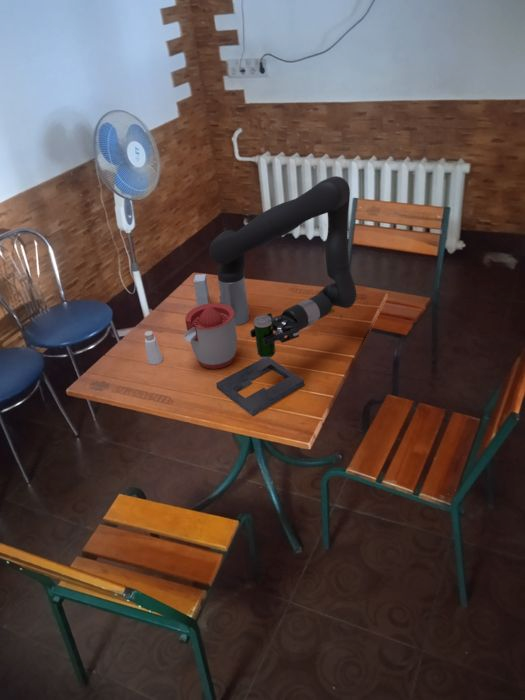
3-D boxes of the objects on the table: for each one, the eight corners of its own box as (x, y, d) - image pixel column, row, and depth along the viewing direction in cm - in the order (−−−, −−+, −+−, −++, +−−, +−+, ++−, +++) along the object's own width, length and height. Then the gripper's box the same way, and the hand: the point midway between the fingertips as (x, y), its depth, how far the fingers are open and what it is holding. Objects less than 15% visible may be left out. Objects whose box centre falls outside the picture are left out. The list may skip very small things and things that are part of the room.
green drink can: (260, 360, 164) (255, 326, 157) (256, 350, 168) (251, 316, 161) (277, 356, 164) (274, 322, 158) (273, 347, 169) (269, 313, 162)
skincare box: (209, 309, 213) (204, 280, 207) (198, 309, 214) (193, 281, 207) (210, 301, 218) (206, 273, 212) (199, 302, 219) (195, 274, 212)
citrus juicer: (180, 361, 186) (169, 309, 175) (223, 340, 194) (215, 289, 183) (205, 382, 175) (195, 328, 164) (250, 359, 183) (243, 306, 172)
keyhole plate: (267, 361, 181) (266, 356, 180) (304, 385, 169) (304, 379, 168) (217, 388, 172) (216, 383, 171) (252, 415, 160) (251, 410, 158)
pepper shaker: (157, 353, 191) (150, 326, 185) (166, 359, 188) (160, 331, 181) (144, 361, 188) (136, 333, 182) (153, 367, 185) (146, 339, 178)
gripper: (284, 296, 172) (241, 318, 164) (316, 313, 162) (272, 336, 154) (286, 317, 176) (244, 339, 168) (318, 334, 166) (274, 358, 158)
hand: (257, 338), depth 161 cm, fingers closed on green drink can, 5 cm apart
